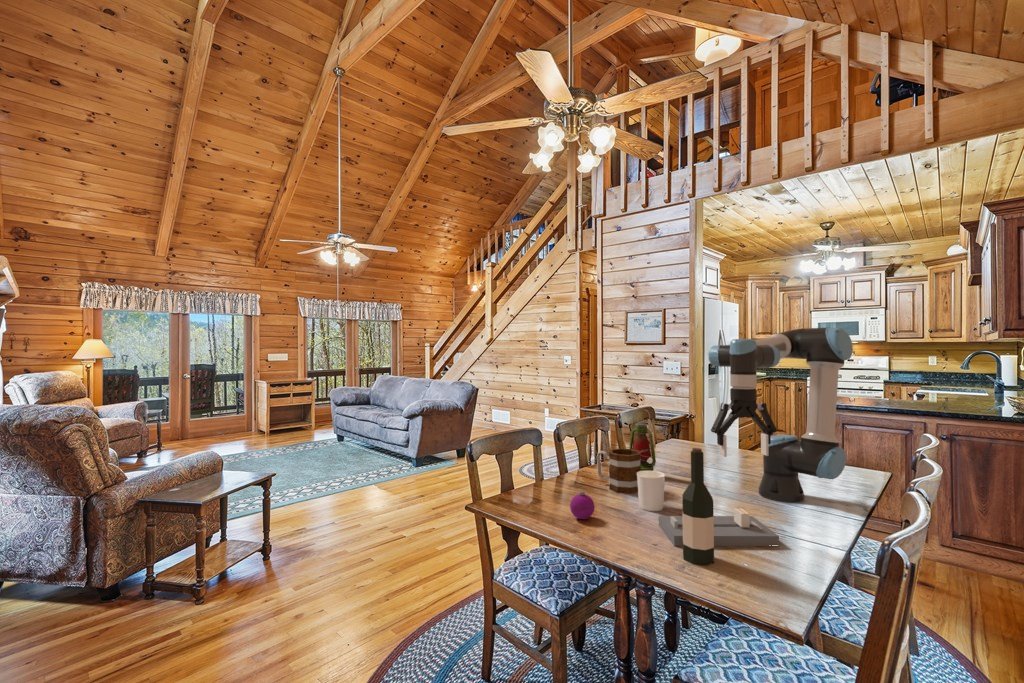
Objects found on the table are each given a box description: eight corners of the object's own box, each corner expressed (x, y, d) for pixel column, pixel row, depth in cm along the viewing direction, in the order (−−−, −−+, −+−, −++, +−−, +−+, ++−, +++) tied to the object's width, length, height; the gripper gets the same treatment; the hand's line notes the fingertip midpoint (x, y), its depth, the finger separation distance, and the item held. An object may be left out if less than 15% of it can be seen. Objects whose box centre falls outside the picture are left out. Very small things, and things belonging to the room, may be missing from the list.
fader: (741, 521, 147) (741, 507, 147) (749, 527, 142) (749, 513, 142) (734, 521, 147) (733, 507, 147) (741, 527, 142) (741, 513, 142)
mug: (648, 487, 193) (647, 451, 194) (633, 496, 183) (632, 457, 183) (605, 479, 206) (604, 445, 206) (589, 486, 196) (588, 450, 196)
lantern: (622, 474, 213) (621, 408, 214) (634, 470, 221) (634, 405, 221) (649, 480, 203) (649, 411, 204) (662, 475, 211) (661, 408, 211)
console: (752, 525, 153) (752, 509, 153) (779, 546, 137) (778, 529, 137) (658, 525, 153) (658, 509, 153) (674, 546, 137) (674, 528, 137)
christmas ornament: (567, 521, 158) (567, 491, 158) (573, 513, 165) (573, 484, 165) (591, 524, 155) (591, 493, 155) (596, 515, 162) (596, 486, 162)
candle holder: (666, 512, 165) (666, 478, 165) (637, 511, 167) (637, 477, 167) (663, 503, 174) (663, 471, 174) (636, 502, 176) (635, 469, 176)
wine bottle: (676, 552, 133) (675, 446, 133) (705, 551, 134) (704, 445, 134) (690, 566, 125) (689, 452, 125) (720, 565, 126) (719, 452, 126)
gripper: (773, 386, 154) (774, 451, 154) (699, 387, 152) (700, 453, 152) (788, 388, 146) (789, 457, 146) (710, 389, 144) (711, 458, 144)
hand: (744, 455), depth 149 cm, fingers open, 13 cm apart
